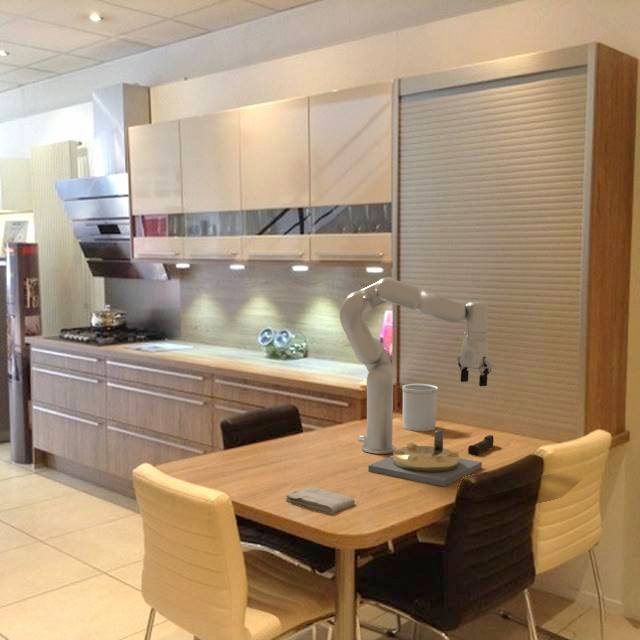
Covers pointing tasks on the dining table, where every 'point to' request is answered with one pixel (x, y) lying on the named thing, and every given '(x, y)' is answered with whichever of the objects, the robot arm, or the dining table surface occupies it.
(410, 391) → the utensil holder
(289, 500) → the washcloth
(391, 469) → the base plate
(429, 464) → the beige piece
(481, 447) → the hand tool
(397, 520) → the dining table surface
